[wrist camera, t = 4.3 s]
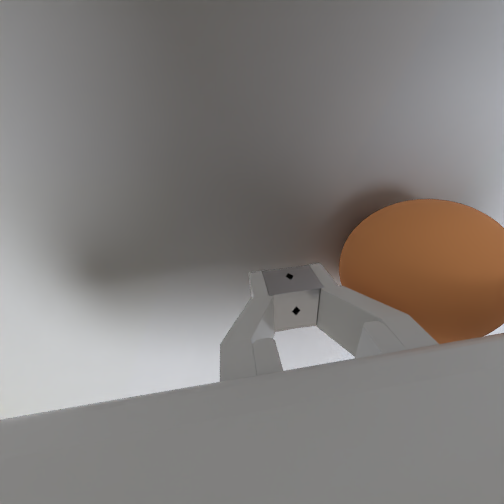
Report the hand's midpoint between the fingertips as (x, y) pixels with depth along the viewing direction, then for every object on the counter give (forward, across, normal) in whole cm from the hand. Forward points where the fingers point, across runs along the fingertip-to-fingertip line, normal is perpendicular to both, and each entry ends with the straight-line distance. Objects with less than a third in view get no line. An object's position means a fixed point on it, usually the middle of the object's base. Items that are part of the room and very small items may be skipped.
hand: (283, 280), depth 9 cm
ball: (-1, -5, 0) cm, 5 cm away
